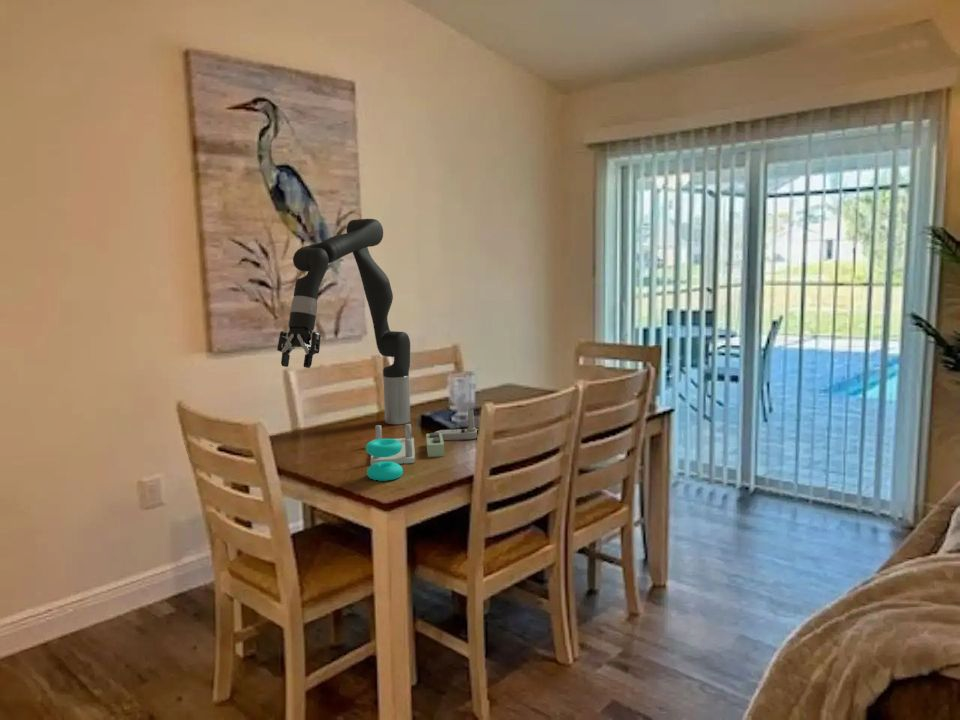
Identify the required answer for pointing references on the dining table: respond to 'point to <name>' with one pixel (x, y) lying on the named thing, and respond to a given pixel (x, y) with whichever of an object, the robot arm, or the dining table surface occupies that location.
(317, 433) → the dining table surface
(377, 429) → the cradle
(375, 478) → the donuts
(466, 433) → the electronic device
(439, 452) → the pale green block
